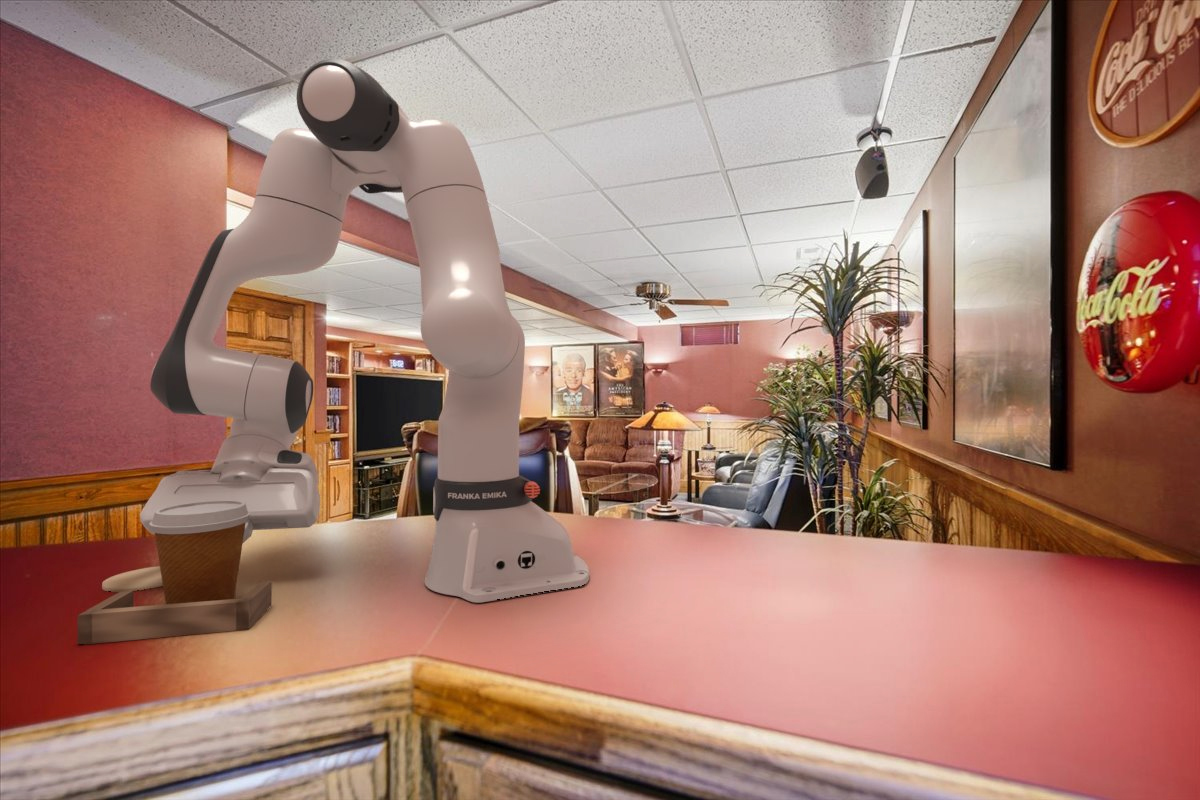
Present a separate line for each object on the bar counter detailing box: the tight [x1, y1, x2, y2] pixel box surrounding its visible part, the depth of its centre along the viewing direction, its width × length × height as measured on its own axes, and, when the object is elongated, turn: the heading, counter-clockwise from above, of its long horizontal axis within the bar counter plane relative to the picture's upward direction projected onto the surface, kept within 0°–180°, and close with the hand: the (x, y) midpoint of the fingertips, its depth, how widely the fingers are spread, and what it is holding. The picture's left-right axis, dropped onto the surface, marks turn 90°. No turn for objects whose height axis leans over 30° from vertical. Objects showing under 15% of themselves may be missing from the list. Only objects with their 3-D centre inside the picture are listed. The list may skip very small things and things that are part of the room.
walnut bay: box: [77, 580, 273, 645], centre depth 58 cm, size 15×7×3 cm, turn 104°
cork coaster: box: [101, 565, 163, 593], centre depth 72 cm, size 9×9×1 cm
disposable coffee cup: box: [149, 500, 250, 604], centre depth 62 cm, size 10×10×12 cm
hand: (218, 557), depth 66 cm, fingers closed, pressing on disposable coffee cup
